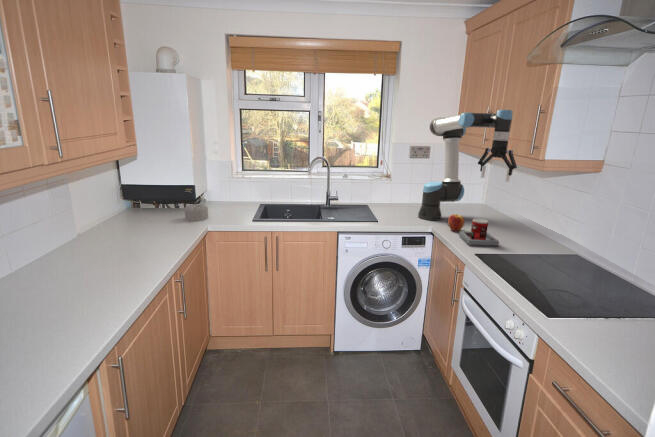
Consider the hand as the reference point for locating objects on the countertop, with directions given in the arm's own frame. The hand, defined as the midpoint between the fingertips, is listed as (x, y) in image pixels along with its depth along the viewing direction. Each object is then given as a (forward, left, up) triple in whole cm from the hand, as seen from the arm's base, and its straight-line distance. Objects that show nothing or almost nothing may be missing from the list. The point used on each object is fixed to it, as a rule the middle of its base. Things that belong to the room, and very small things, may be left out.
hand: (494, 179), depth 205 cm
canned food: (+10, -8, -32) cm, 34 cm away
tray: (+10, -8, -33) cm, 35 cm away
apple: (-9, -15, -33) cm, 37 cm away
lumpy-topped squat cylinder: (-12, -171, -33) cm, 174 cm away
